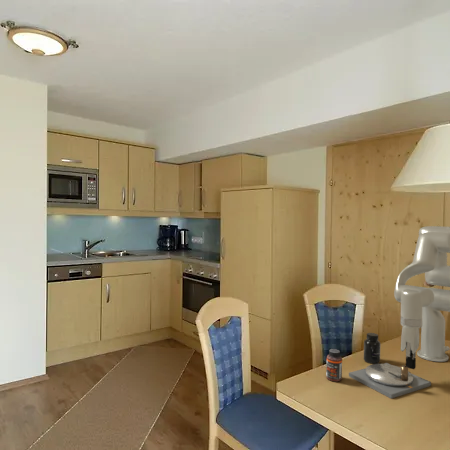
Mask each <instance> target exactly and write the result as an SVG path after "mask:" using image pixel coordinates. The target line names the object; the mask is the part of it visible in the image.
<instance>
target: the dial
mask: <svg viewBox="0 0 450 450" xmlns="http://www.w3.org/2000/svg"><path fill="white" fill-rule="evenodd" d="M388 364H389V363H388ZM388 364H384V363H377V364H373V363H371V364H369V365H367V366H366V367H365V368H366V375H367V377H368V378H370V379H371V380H373V381H375V382H377V383H380V384H384V385H388V386H397V387H402V386H408V385H411V384H412V383H413V375H412V374H413V373H412V372H410V371H409V368H408V367H407V366H406V365H404V364H403V365H400V366H398V365H393V364H390V365H388Z"/></svg>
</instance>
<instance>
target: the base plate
mask: <svg viewBox="0 0 450 450" xmlns="http://www.w3.org/2000/svg"><path fill="white" fill-rule="evenodd" d="M383 364H388V365H391V364H390V363H388V362H385V363H383ZM411 374H412V375H413V383H412V384H411V385H408V386H402V387H397V386H388V385H384V384H380V383H377V382H375V381H373V380H371V379H370V378H368V377H367V375H366V367H365V368H363V369H362V368H361V369H358V370H353V371H349V372H348V377H349V378H351V379H353V380H354V381H357V382H359V383H361V384H363V385H364V386H367V387H368V388H370V389H371V390H374V391H376V392H378V393H379V394H382V395H383V396H385V397H387V398H389V399H394V398H398V397H401V396H403V395H407V394H409V393H414V392H416V391H419V390H423V389H425V388H428V387H432V381H429V380H427V379H425V378H423V377H420V376H418V375H416V374H413V373H411Z"/></svg>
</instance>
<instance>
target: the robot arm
mask: <svg viewBox="0 0 450 450" xmlns="http://www.w3.org/2000/svg"><path fill="white" fill-rule="evenodd" d="M447 253H448V254H450V226H438V225H437V226H436V225H434V226H433V225H427V226H423V227H420V228H419V230H418V238H417V241H416V245H415V250H414V255H413V260H412V262H411V263H409V264H408V265H407V266H405V267H404V268H403V269H402V270H401V271H400V273H399V274H398V276H397V277H396V281H395V285H394V291H393V295H394V298H395V301H396V302H398V303H400V325H401V326H402V327H401V328H402V329H401V337H400V338H401V339H400V352H404V351H405V366H407V367H408V369H411V370H415V369H416V366H417V365H416V364H417V363H416V362H417V361H416V359H417V357H416V355H417V356H418V357H419V358H421V359H424V360H427V361H430V362H431V361H432V362H439V363H443V362H447V361H449V355H448V354H446V352H447V351H450V347H449V346H448V345H447V346H446V344H445V343H446V319H445V316H444V315H443V313H442V312H448V313H450V289H443V288H436V287H437V286H439V287H446V288H450V265H448V264H447V263H448V254H447ZM421 274H424V280H425V282H426V283H427V284H429V285H432V286H436V287H425V286H418V285H417V286H416V285H410V284H407V281H409V280H410V279H411V278H413V277H416V276H417V275H421ZM420 329H421V330H420ZM420 333H421V334H420ZM419 347H420V349H419ZM418 349H419V350H418Z"/></svg>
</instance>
